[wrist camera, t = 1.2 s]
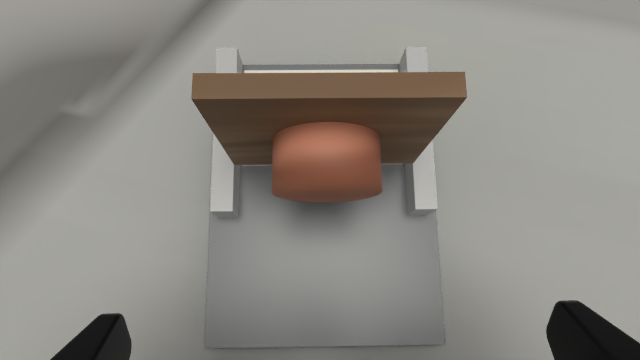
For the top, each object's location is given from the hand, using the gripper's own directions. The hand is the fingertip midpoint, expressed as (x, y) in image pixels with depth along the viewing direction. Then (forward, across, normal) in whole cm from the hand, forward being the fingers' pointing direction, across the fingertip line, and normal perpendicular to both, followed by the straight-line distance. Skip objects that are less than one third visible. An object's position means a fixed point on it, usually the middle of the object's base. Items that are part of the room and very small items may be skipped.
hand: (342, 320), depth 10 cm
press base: (+13, 0, +6) cm, 14 cm away
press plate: (+11, 0, +3) cm, 11 cm away
